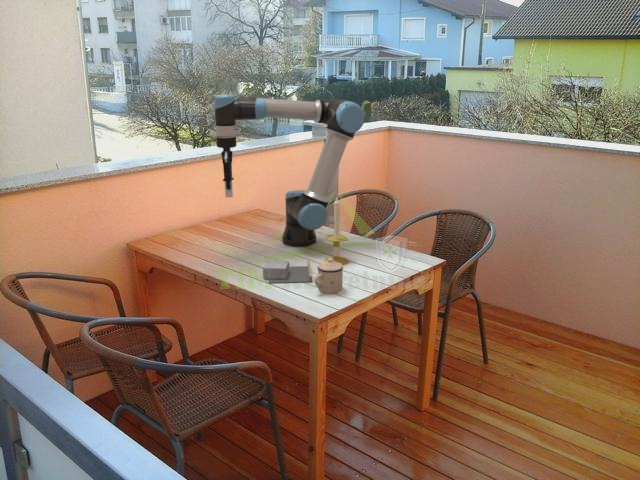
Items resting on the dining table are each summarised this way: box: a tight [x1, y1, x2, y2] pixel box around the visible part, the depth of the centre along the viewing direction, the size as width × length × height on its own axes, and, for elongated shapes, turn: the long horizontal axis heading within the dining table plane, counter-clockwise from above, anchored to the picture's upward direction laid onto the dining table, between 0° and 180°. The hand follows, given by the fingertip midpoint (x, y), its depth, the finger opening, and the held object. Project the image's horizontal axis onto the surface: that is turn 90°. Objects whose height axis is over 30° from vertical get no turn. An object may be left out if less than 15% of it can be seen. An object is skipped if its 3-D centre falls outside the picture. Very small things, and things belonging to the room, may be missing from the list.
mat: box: [268, 260, 313, 285], centre depth 224 cm, size 16×16×2 cm
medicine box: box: [262, 260, 290, 280], centre depth 222 cm, size 8×4×9 cm
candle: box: [323, 197, 349, 266], centre depth 235 cm, size 10×10×27 cm
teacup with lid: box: [314, 257, 344, 295], centre depth 208 cm, size 12×9×12 cm
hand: (229, 196), depth 232 cm, fingers closed
